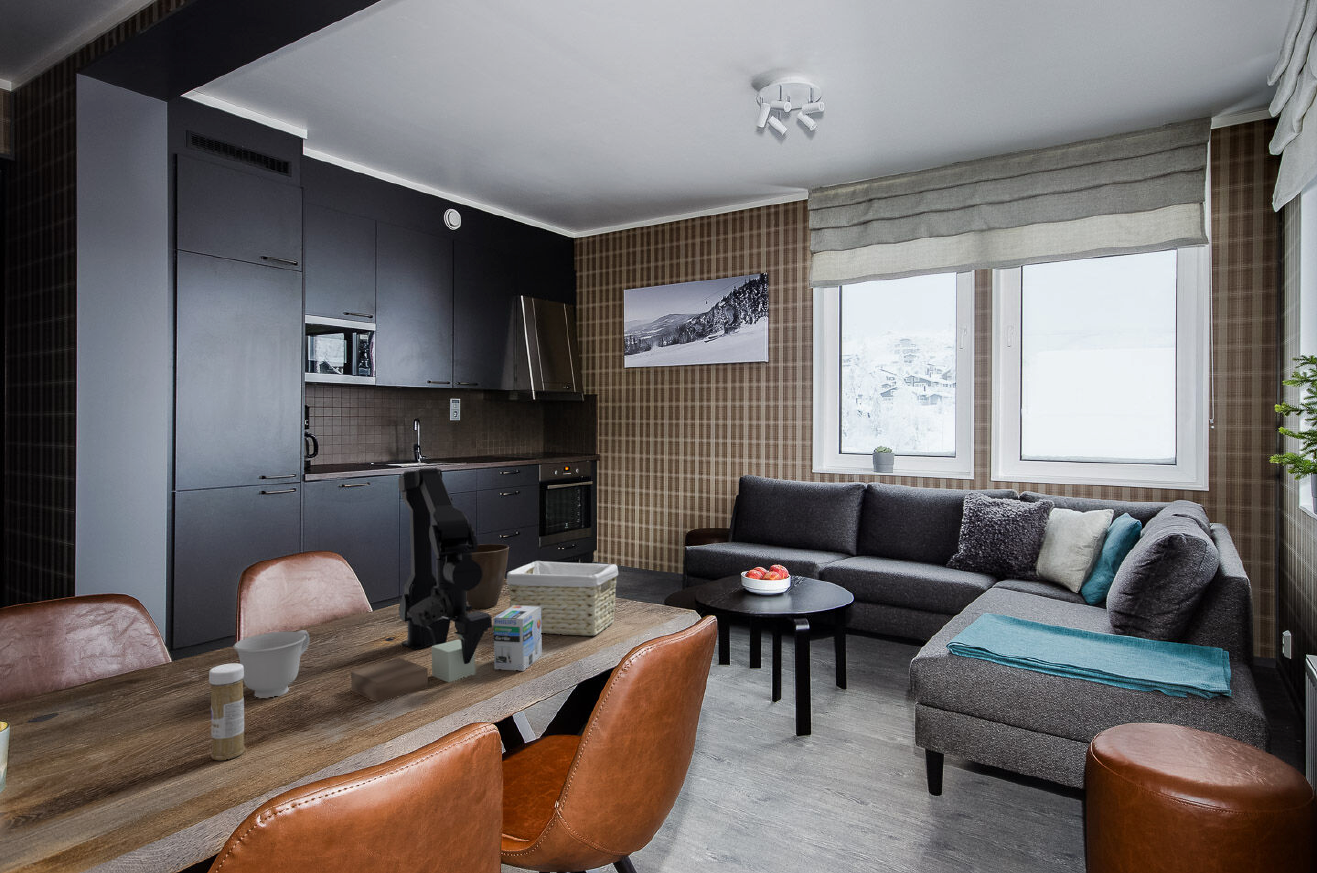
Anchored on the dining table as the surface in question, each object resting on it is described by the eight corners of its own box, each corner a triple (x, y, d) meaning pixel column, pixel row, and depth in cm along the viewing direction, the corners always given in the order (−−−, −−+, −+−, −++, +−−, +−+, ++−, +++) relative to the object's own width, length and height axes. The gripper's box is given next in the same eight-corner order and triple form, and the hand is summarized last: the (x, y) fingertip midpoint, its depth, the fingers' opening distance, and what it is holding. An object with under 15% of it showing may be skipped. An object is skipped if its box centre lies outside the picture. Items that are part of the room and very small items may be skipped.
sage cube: (432, 676, 145) (431, 646, 144) (458, 668, 149) (457, 639, 149) (449, 683, 141) (448, 652, 141) (475, 674, 145) (474, 644, 145)
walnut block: (351, 692, 137) (351, 671, 137) (400, 677, 145) (399, 657, 145) (378, 705, 131) (378, 682, 131) (428, 689, 138) (427, 668, 138)
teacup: (332, 680, 143) (331, 629, 143) (269, 708, 129) (268, 652, 129) (285, 674, 147) (284, 625, 147) (219, 701, 133) (217, 647, 133)
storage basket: (504, 633, 174) (503, 572, 174) (535, 615, 190) (533, 559, 189) (597, 640, 167) (596, 576, 167) (621, 621, 183) (620, 563, 182)
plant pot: (445, 611, 195) (443, 552, 195) (468, 598, 210) (467, 543, 209) (497, 613, 192) (496, 553, 192) (517, 599, 207) (516, 544, 207)
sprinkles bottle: (206, 756, 110) (204, 668, 110) (239, 745, 114) (236, 660, 114) (217, 764, 107) (215, 674, 107) (250, 753, 111) (248, 666, 111)
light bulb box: (524, 672, 146) (523, 618, 146) (492, 670, 147) (491, 617, 147) (543, 655, 157) (542, 605, 156) (513, 653, 158) (512, 604, 158)
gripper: (390, 582, 145) (391, 659, 145) (442, 595, 132) (443, 680, 133) (439, 572, 153) (441, 646, 153) (492, 584, 141) (494, 664, 141)
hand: (453, 659), depth 145 cm, fingers open, 9 cm apart
